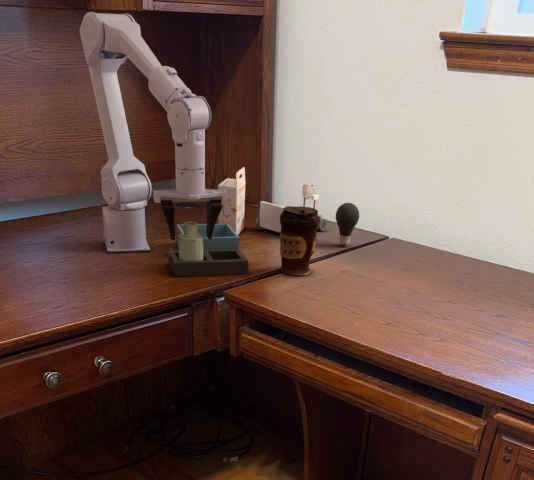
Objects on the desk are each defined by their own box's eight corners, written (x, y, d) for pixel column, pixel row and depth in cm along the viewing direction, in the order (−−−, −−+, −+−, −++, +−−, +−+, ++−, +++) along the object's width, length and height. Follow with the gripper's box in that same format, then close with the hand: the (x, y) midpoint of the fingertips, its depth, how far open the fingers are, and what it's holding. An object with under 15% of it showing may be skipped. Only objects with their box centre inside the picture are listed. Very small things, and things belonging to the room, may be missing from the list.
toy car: (301, 180, 175) (336, 188, 169) (298, 219, 181) (332, 228, 175) (255, 189, 164) (292, 198, 158) (254, 230, 169) (288, 240, 164)
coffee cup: (301, 281, 140) (307, 216, 133) (268, 272, 143) (271, 209, 136) (321, 270, 146) (327, 208, 139) (288, 262, 150) (293, 201, 142)
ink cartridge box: (225, 226, 171) (226, 164, 162) (244, 228, 170) (246, 166, 162) (216, 235, 164) (217, 171, 155) (236, 237, 163) (238, 173, 155)
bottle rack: (175, 276, 138) (174, 263, 136) (168, 263, 144) (168, 250, 143) (247, 273, 142) (248, 260, 140) (238, 261, 148) (238, 248, 147)
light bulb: (358, 245, 164) (364, 202, 158) (350, 250, 160) (356, 207, 154) (336, 241, 166) (341, 198, 160) (329, 246, 161) (333, 203, 156)
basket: (185, 259, 148) (185, 238, 145) (176, 244, 156) (176, 224, 154) (238, 257, 151) (239, 237, 148) (227, 242, 159) (228, 223, 157)
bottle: (181, 273, 140) (180, 227, 134) (177, 266, 144) (176, 220, 138) (205, 272, 141) (205, 226, 135) (200, 265, 145) (200, 219, 139)
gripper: (156, 171, 126) (159, 244, 134) (230, 171, 129) (229, 242, 137) (150, 164, 131) (154, 234, 139) (222, 164, 135) (221, 233, 143)
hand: (191, 238), depth 138 cm, fingers open, 7 cm apart
